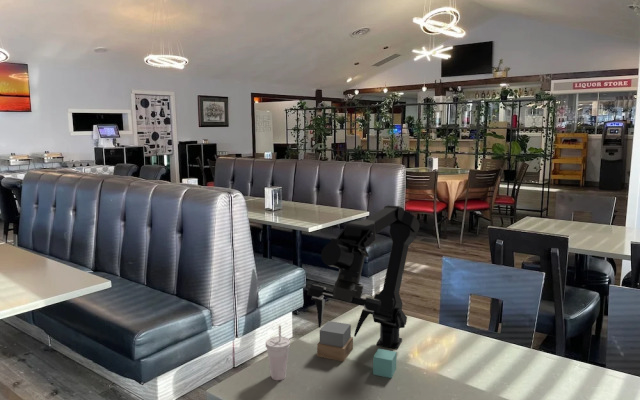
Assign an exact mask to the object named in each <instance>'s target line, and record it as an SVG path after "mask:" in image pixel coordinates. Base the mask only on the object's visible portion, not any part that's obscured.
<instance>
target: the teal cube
mask: <svg viewBox="0 0 640 400" xmlns="http://www.w3.org/2000/svg"><path fill="white" fill-rule="evenodd" d="M397 356H398V355H397V351H394V350H393V351H392V350H388V349H383V348H377V350H376V352H375V353H374V355H373V360H372V361H373V362H372V363H373V364H372V374H373V375H374V376H379V377H380V376H381V377H383V378H388V379H392V378H393V376H394V374H395V372H396V370H397Z"/></svg>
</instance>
